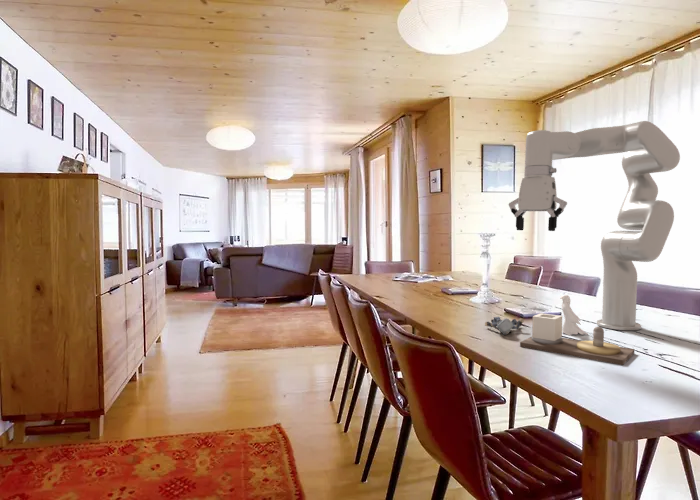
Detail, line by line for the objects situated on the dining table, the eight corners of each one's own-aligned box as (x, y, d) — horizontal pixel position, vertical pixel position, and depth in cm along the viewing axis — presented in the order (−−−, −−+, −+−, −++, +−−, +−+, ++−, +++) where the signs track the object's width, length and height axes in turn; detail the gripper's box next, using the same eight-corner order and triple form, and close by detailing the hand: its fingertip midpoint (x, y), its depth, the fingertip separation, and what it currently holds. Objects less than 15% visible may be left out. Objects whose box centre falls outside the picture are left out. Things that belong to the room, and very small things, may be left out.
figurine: (559, 329, 145) (560, 292, 144) (587, 332, 142) (588, 294, 141) (559, 335, 138) (560, 296, 138) (588, 338, 135) (589, 298, 134)
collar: (540, 333, 131) (540, 313, 131) (561, 337, 127) (562, 315, 127) (532, 337, 127) (532, 316, 126) (554, 341, 123) (555, 319, 122)
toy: (525, 322, 148) (527, 325, 134) (495, 340, 151) (495, 345, 136) (512, 304, 150) (514, 306, 136) (483, 322, 152) (482, 325, 138)
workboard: (537, 337, 135) (537, 312, 135) (634, 353, 118) (635, 324, 118) (520, 346, 126) (520, 319, 125) (622, 365, 109) (623, 333, 108)
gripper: (573, 172, 131) (570, 231, 132) (516, 176, 144) (514, 230, 145) (562, 169, 126) (559, 231, 127) (504, 174, 139) (502, 229, 139)
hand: (535, 230), depth 136 cm, fingers open, 9 cm apart
